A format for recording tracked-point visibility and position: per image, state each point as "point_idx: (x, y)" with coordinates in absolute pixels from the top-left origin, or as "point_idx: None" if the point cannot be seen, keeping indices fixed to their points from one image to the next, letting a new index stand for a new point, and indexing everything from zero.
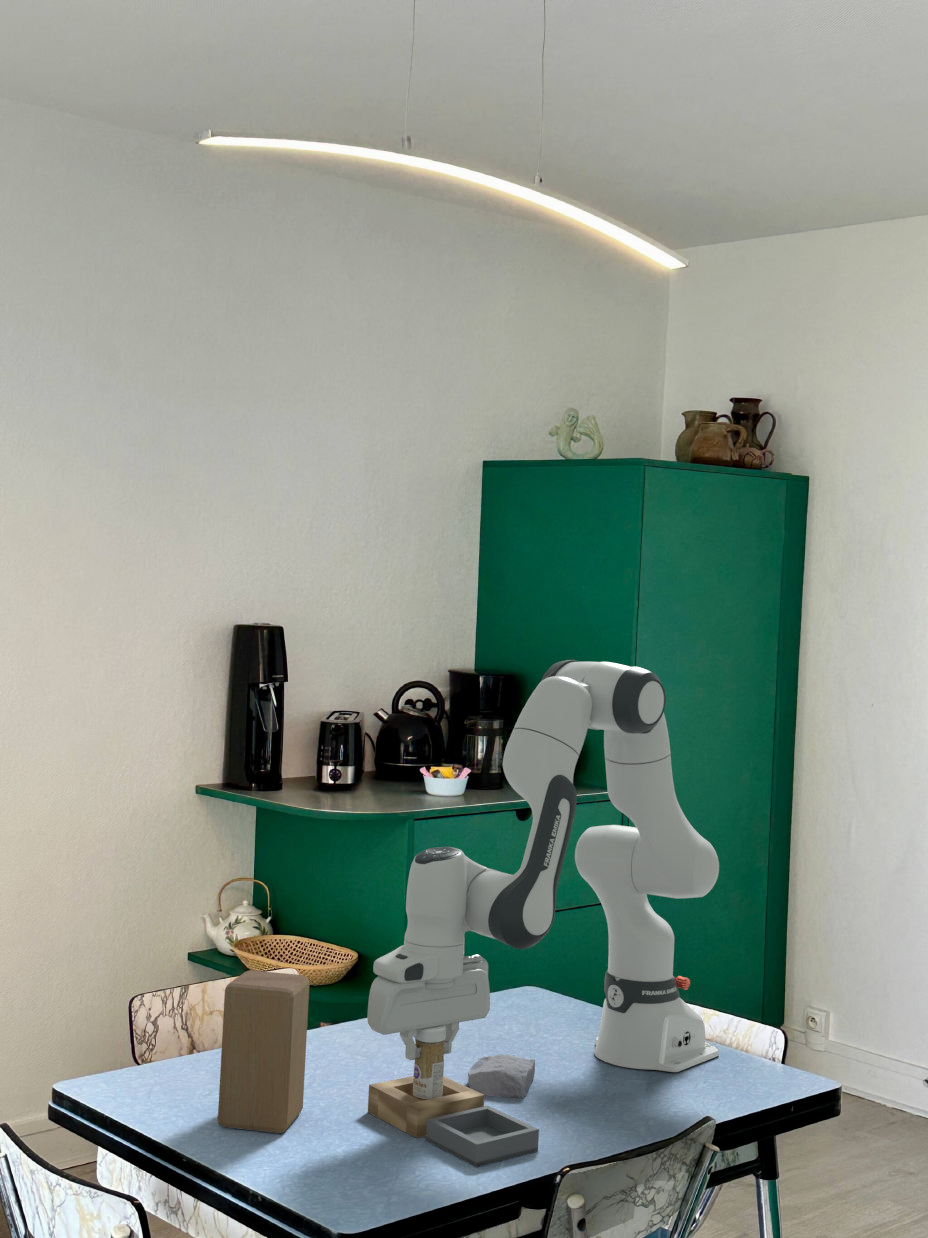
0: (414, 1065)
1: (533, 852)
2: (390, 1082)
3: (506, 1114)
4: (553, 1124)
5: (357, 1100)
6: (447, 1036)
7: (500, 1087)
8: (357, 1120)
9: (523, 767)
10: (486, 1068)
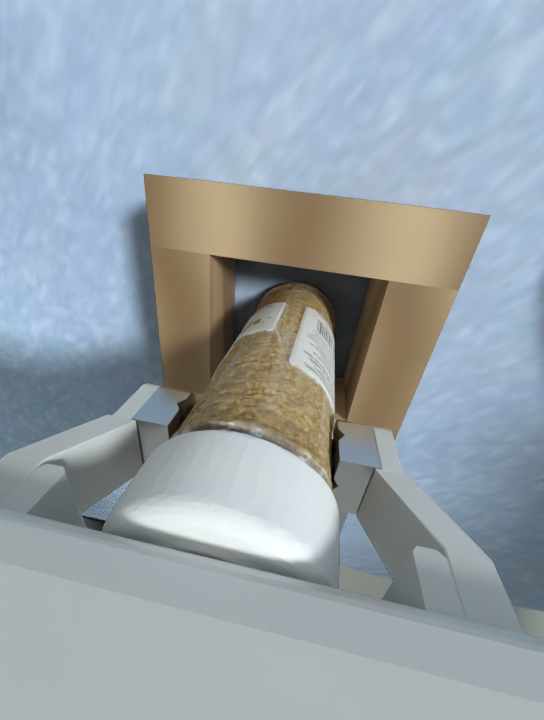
0: (217, 368)
1: None
2: (229, 209)
3: (346, 512)
4: (475, 500)
5: (225, 29)
6: (382, 524)
7: None
8: (134, 213)
9: None
10: None
